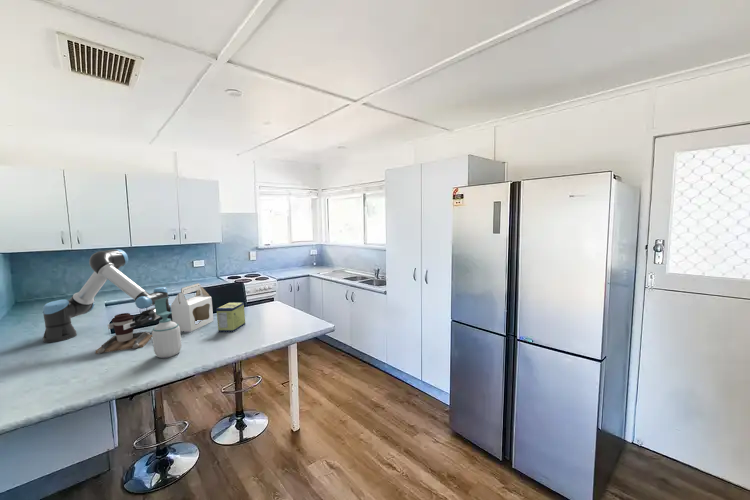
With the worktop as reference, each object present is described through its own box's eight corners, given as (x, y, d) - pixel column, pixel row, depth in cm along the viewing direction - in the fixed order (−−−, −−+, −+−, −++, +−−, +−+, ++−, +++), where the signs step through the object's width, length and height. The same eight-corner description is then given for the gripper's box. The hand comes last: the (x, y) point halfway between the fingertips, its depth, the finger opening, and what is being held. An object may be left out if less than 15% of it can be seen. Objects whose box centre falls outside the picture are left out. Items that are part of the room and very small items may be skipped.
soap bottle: (161, 361, 163) (155, 301, 160) (150, 356, 170) (143, 298, 166) (186, 352, 174) (181, 295, 170) (174, 348, 180) (169, 293, 177)
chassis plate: (94, 355, 174) (93, 347, 174) (110, 341, 194) (110, 335, 193) (141, 348, 181) (141, 341, 181) (153, 335, 201) (152, 329, 201)
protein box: (245, 324, 217) (244, 302, 216) (233, 332, 202) (231, 308, 200) (231, 324, 219) (229, 302, 217) (217, 332, 203) (215, 308, 202)
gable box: (190, 332, 206) (186, 289, 203) (172, 331, 208) (168, 289, 205) (213, 320, 228) (210, 282, 225) (197, 320, 230) (193, 282, 227)
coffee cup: (112, 344, 181) (109, 318, 179) (116, 338, 189) (113, 313, 188) (134, 340, 185) (131, 315, 184) (137, 335, 194) (134, 311, 192)
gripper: (166, 321, 202) (133, 334, 181) (135, 320, 206) (100, 333, 185) (164, 309, 202) (132, 321, 180) (134, 309, 206) (99, 320, 184)
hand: (116, 327), depth 182 cm, fingers closed on coffee cup, 10 cm apart
